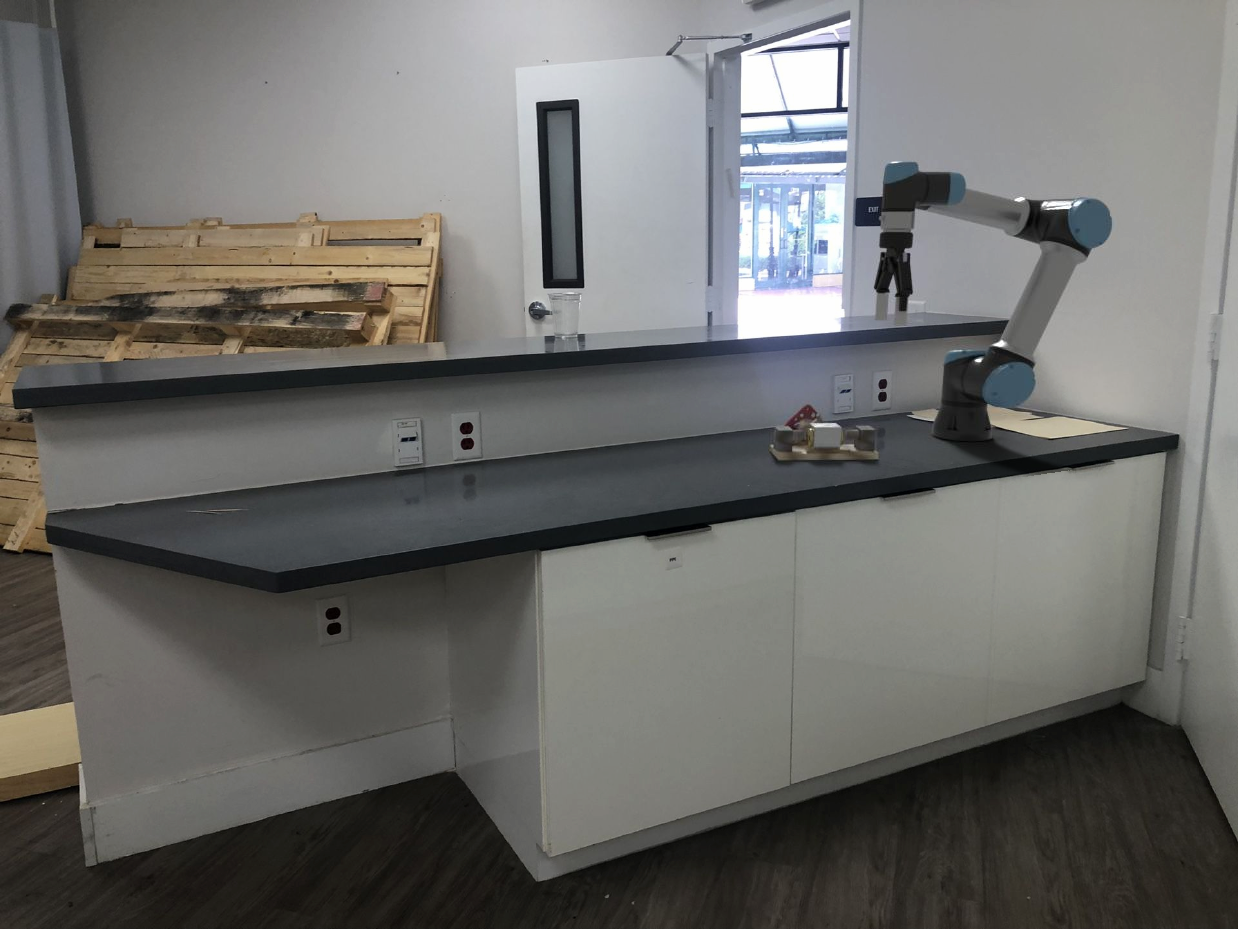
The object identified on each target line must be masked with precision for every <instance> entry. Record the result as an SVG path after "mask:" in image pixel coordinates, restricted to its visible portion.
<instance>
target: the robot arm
mask: <svg viewBox="0 0 1238 929" xmlns="http://www.w3.org/2000/svg"><path fill="white" fill-rule="evenodd" d="M882 178H883V180H882V196H881V197H882V200H881V216H879V217H878V220H879V221H880V229H881V230H882V232H880V233H879V241H878V242H879V243H878V247H879V248H880V249H886V251H881V252H880V254H879V255H880V256H879V263H878V267H877V272H876V276H875V280H874V285H873V290H875V292H876V299H875V300H876V301H875V302H876V303H875V314H874V315H875V318H874V320H875V321H887V320H888V312H889V309H888V307H889V295H890V294H889V293H891V289H890V286H891V282H892V280H893V279H894V285H895V288H896V289H895V290H896V292H895V294H894V298H895V301H894V304H895V305H894V316H893V318H894V319H893V326H895V327H897V326H898V327H899V326H900V327H901V326H902V327H903V326H904V327H906V326H907V320H908V309H909V308H908V307H909V297H910V296H911V295H913V294H914V290H913V280H912V277H913V276H912V268H911V253H910V252H906V251H905V250H906V249H911V248H913V244H914V243H913V241H914V233H913V232H912V230H914V229H915V220H916V219H915V218H916V210H918V211H919V210H920V211H923V212H924V211H925V212H929V213H932V214H938V215H941V216H946V217H950V218H954V219H957V220H963V221H965V222H969V223H975V224H978V225H982V226H986V227H990V228H994V229H998V230H1002V231H1003V232H1004V233H1005V235H1007V236H1010V237H1014V238H1018V239H1021V240H1024V241H1027V242H1031V243H1034V244H1037V245H1038V246H1039V248H1040V251H1041V254H1040V255H1039V258H1038V259H1037V263H1036V264H1035V266H1034V268H1033V271H1032V273H1031V274H1030V277H1029V278H1028V281H1027V283H1026V286H1025V288H1024V289H1023V291H1022V294H1021V295H1020V298H1019V300H1018V301H1017V304H1016V306H1015V308H1014V310H1013V312H1012V314H1011V316H1010V318H1009V320H1008V322H1007V324H1006V326H1005V329H1003V333H1002V335H1001V337H1000V339H999V341H998V342H994V343H993V344H990V345H989V347H988V349H966V350H965V349H963V350H961V349H960V350H948V351H947V352H946V354H945V357H944V361H943V373H942V374H943V376H942V383H941V384H942V385H941V386H942V388H941V397H940V398H941V399H940V407H939V409H938V411H937V413H936V417H935V418H934V421H933V423H932V426H931V435H932V436H934V437H935V438H936V437H937V438H940V439H944V440H948V441H949V440H950V441H957V442H982V441H983V442H984V441H988V440H991V439H992V435H993V428H992V425H991V419H990V416H989V412H988V405H990V406H991V407H994V408H1003V409H1012V408H1016V407H1019V406H1021V405H1022V404H1024V403H1025V402H1026V401H1027V400H1028V399H1029V398H1030V397H1031V396H1032V394H1033V392H1034V390H1035V387H1036V382H1037V380H1036V378H1035V377H1036V374H1035V371H1034V368H1035V366H1036V363H1037V362H1036V359H1035V357H1034V353H1035V351H1036V350H1037V347H1038V345H1039V343H1040V341H1041V340H1042V337H1043V335H1044V333H1045V331H1046V329H1047V327H1048V324H1050V321H1051V318H1052V316H1053V314H1054V312H1055V310H1056V308H1057V307H1058V305H1059V302H1060V300H1061V298H1062V296H1063V293H1064V292H1065V289H1066V287H1067V286H1068V283H1069V281H1070V279H1071V277H1072V275H1073V273H1074V271H1075V269H1076V267H1077V266H1078V265H1080V264H1082V263H1084V262H1086V261H1087V260H1088V258H1089V255H1090V254H1091V252H1092V250H1093V249H1095V248H1098V247H1099V246H1102V245H1104V244H1105V242H1107V241H1108V239H1109V238H1110V235H1111V232H1112V229H1113V218H1112V216H1111V211H1110V208H1108V206H1107V205H1106V204H1105V202H1103V201H1102V200H1100V199H1098V198H1091V197H1085V196H1084V197H1082V196H1081V197H1078V198H1077V197H1076V198H1052V199H1027V198H1026V197H1025V198H1024V197H1018V198H1015V199H1011V198H1007V197H1004V196H1003V197H1002V196H998V195H995V194H991V193H987V192H983V191H980V190H974V189H971V188H966V187H967V184H966V179H965V177H964V176H963V174H961V173H960V172H956V171H955V172H951V171H920V170H919V163H917V162H916V161H891V162H887V164H885V167H884V173H883V177H882Z"/></svg>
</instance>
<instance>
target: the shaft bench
mask: <svg viewBox="0 0 1238 929" xmlns="http://www.w3.org/2000/svg"><path fill="white" fill-rule="evenodd" d="M844 436H845V437H844V438H845V440H846V441H847V440H848V441H851V440H853V444H852V443H851V444H850V443H849V444H844V443H843V445H842V446H840V449H837V450H811V449H810V448H808V446H807V443H806V442H798V443H797V445H793V440H802V439H803V431H802V430H792V429H791V428H790V427H789V426H785V425H782V426H781V425H779V426H778V425H774V426H773V443H772V444H770V446H769V452H770V453H771V454H772V455H773V456H774V457H775V458H776V459H777V460H778V461H823V460H824V461H833V460H834V461H835V460H836V461H837V460H838V461H841V460H842V461H845V460H847V461H848V460H852V461H853V460H855V461H856V460H859V461H861V460H864V461H865V460H879V454H880V453H879V452H878V451H877V450H875V447H876V446H875V445H876V444H875V443H876V429H875V428H873V427H872V426H870V425H854V429H845V433H844Z"/></svg>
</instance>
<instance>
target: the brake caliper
mask: <svg viewBox="0 0 1238 929" xmlns="http://www.w3.org/2000/svg"><path fill="white" fill-rule="evenodd" d="M801 415H802V416H801ZM812 415H814V416H812ZM800 422H801V423H800ZM810 423H827V421H826V420H825V419H824V418H823V416H821V412H817V410H816V409H815V408H814V407H813V406H812V405H811V404H809V403H807V404H805V405H804V406H802V407H801V408H800V409H799V410H798V411H797V412H796V413H795V414H794V415H793V416H792V417H791V418H790V419H789V420H787V422H786V423H785V424H784V426H789V427H790V428H791V429H792V430H802V431H803V439H802V440H793V445H797V443H798V442H806V432H807V429H808V428H809V425H810ZM797 425H798V426H797Z"/></svg>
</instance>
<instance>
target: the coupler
mask: <svg viewBox="0 0 1238 929" xmlns="http://www.w3.org/2000/svg"><path fill="white" fill-rule="evenodd" d="M844 436H845V433H844V430H843V427H842V426H840V425H839V424H837V423H836V422H826V423H810V425H809V428H808V429H807V432H806V443H807V446H808V448H810V449H811V450H837V449H840V446H842V445H843V444H844V441H845V440H844V438H845V437H844Z"/></svg>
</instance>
